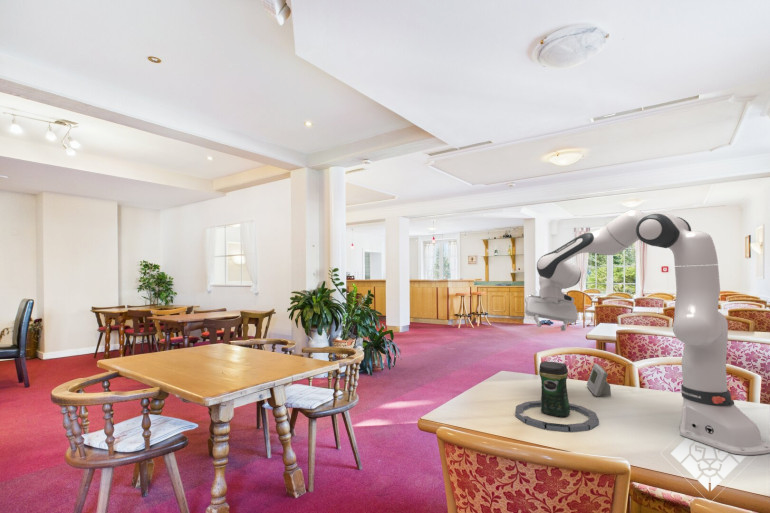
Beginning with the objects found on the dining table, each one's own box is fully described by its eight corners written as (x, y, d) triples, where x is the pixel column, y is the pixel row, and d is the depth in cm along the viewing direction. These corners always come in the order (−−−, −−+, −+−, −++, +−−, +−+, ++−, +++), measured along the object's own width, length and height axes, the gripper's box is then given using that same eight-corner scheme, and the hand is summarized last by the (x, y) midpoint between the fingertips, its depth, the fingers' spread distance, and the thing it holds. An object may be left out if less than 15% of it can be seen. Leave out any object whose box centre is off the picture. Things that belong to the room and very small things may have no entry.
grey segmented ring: (616, 427, 132) (616, 422, 132) (541, 435, 127) (541, 429, 127) (566, 402, 158) (566, 397, 158) (502, 407, 154) (502, 403, 154)
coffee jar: (572, 413, 146) (570, 361, 147) (565, 419, 140) (563, 365, 141) (546, 407, 153) (543, 358, 154) (538, 413, 147) (535, 362, 148)
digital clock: (587, 386, 179) (585, 362, 180) (610, 388, 175) (608, 364, 176) (586, 396, 165) (585, 370, 165) (611, 399, 161) (609, 372, 161)
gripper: (527, 290, 167) (526, 320, 160) (578, 298, 164) (580, 329, 157) (523, 297, 172) (522, 326, 165) (572, 305, 170) (574, 335, 162)
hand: (551, 328), depth 161 cm, fingers open, 8 cm apart
